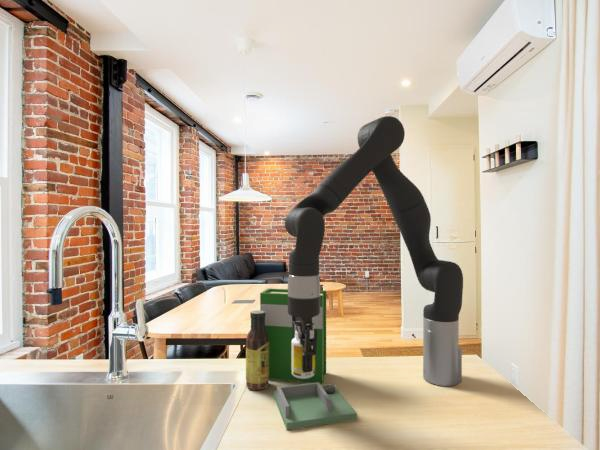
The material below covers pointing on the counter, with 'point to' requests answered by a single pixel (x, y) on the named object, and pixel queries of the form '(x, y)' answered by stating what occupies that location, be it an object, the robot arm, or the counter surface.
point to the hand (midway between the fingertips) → (303, 365)
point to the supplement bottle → (299, 360)
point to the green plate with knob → (312, 405)
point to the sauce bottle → (257, 353)
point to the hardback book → (290, 335)
